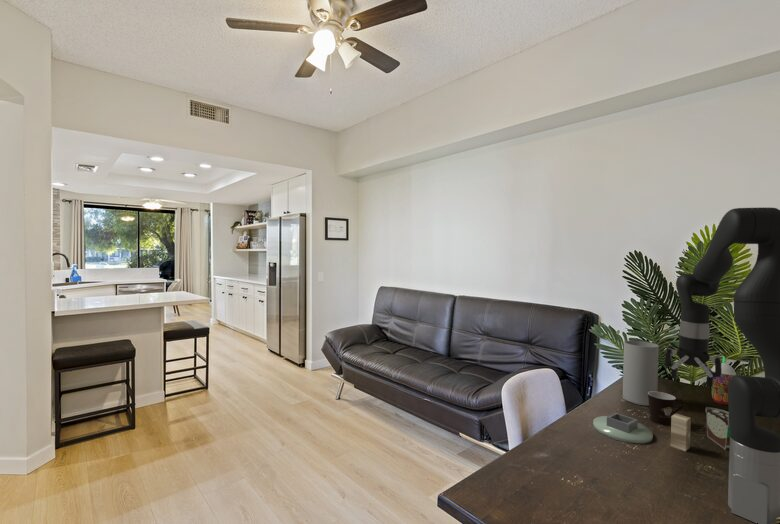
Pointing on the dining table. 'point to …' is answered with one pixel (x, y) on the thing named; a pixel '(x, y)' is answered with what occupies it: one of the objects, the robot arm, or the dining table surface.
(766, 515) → the robot arm
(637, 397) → the cylinder vase
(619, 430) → the clip plate
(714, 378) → the smoothie
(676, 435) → the beige rectangular block
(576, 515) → the dining table surface
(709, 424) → the food container
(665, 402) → the coffee mug
